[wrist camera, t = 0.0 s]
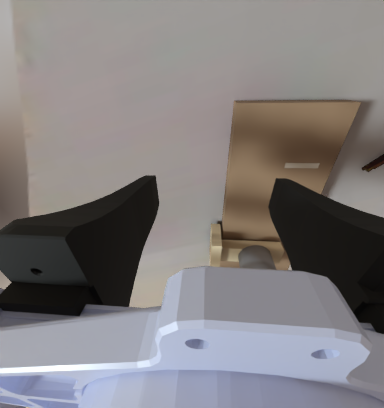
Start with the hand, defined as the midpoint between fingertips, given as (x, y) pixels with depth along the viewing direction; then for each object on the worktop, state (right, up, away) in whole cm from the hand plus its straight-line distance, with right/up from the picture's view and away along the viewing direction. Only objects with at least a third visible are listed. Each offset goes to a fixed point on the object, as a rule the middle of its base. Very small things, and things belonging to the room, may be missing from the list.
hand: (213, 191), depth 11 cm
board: (+8, 0, +12) cm, 14 cm away
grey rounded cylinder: (+6, -6, +15) cm, 17 cm away
